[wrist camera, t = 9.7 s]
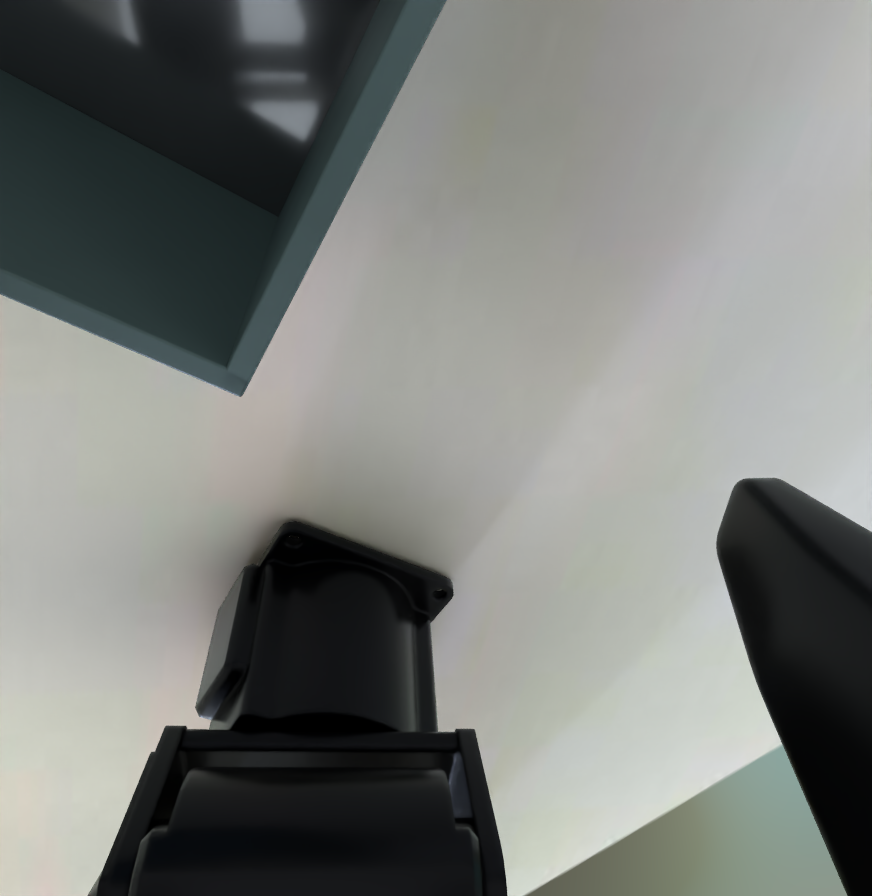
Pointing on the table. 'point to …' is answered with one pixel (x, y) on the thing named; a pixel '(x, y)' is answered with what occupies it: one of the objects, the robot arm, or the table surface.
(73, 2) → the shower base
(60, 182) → the hinged door cabinet
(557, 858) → the table surface
